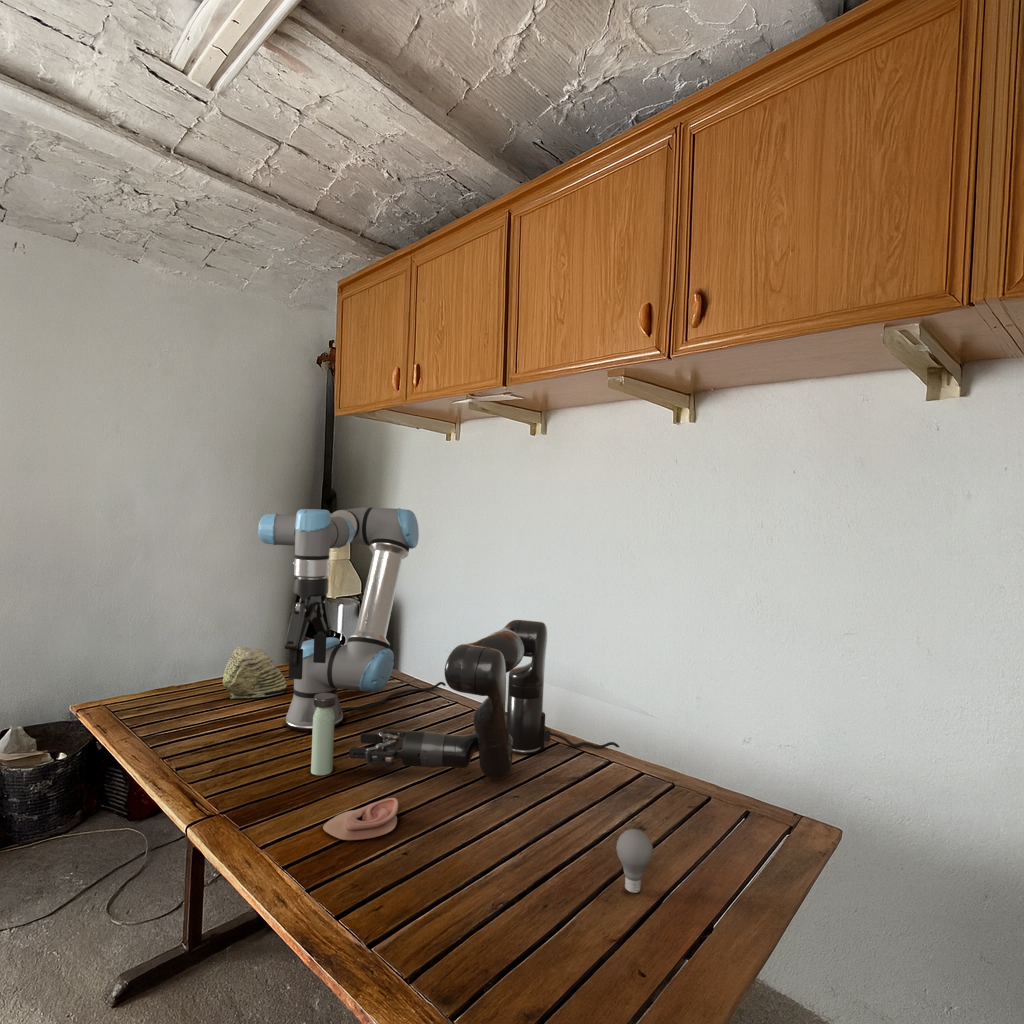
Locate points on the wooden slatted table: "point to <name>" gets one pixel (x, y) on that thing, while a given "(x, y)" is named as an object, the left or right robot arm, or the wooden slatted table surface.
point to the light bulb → (634, 857)
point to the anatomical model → (364, 821)
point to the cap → (324, 700)
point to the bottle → (322, 741)
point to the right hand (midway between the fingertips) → (355, 744)
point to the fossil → (252, 674)
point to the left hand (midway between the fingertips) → (307, 670)
